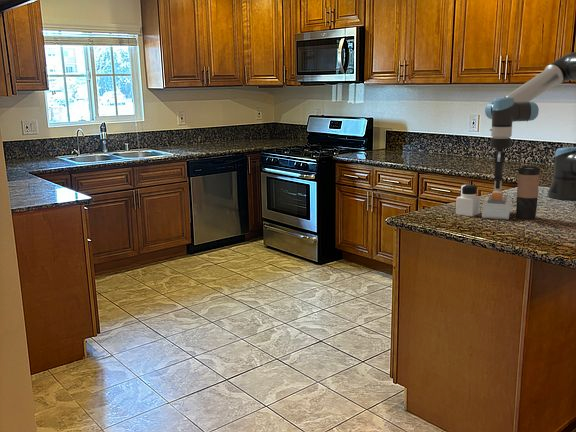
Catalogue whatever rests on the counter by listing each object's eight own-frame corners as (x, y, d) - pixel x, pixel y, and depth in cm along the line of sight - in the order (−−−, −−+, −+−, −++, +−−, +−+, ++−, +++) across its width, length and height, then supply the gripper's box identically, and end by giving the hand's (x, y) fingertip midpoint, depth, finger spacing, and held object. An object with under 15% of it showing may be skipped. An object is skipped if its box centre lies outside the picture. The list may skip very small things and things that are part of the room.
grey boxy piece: (510, 212, 234) (511, 194, 232) (508, 219, 221) (509, 201, 220) (484, 210, 238) (485, 193, 236) (481, 217, 225) (482, 199, 223)
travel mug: (538, 220, 219) (542, 169, 214) (517, 219, 220) (520, 168, 216) (533, 215, 226) (537, 166, 222) (513, 215, 228) (517, 166, 223)
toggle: (502, 200, 227) (503, 191, 226) (502, 202, 224) (502, 192, 223) (492, 200, 229) (492, 190, 228) (491, 201, 226) (492, 191, 225)
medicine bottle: (479, 213, 232) (481, 184, 229) (472, 216, 227) (473, 187, 224) (463, 211, 237) (464, 183, 234) (455, 214, 232) (456, 185, 229)
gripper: (492, 135, 230) (488, 192, 235) (489, 138, 219) (485, 198, 224) (512, 136, 227) (508, 193, 233) (510, 139, 216) (506, 199, 221)
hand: (497, 196), depth 228 cm, fingers closed
